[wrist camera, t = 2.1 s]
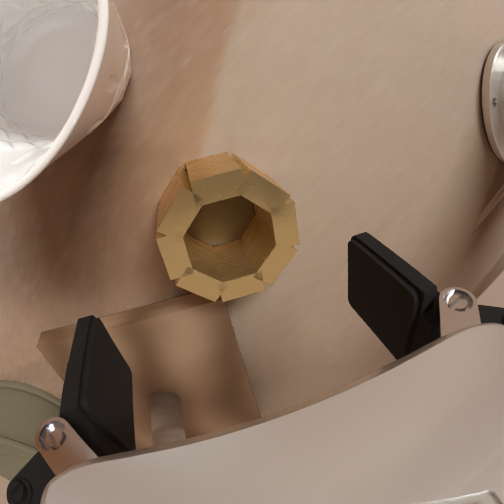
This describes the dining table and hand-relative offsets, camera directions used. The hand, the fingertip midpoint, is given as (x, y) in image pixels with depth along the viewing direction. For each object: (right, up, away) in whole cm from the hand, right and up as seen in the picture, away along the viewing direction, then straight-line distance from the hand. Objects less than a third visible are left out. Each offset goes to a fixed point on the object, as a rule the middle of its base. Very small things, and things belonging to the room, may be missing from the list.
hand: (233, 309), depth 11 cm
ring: (-1, +4, +7) cm, 9 cm away
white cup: (-9, +11, +2) cm, 14 cm away
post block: (-7, -9, +13) cm, 17 cm away
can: (-22, -15, +12) cm, 29 cm away
